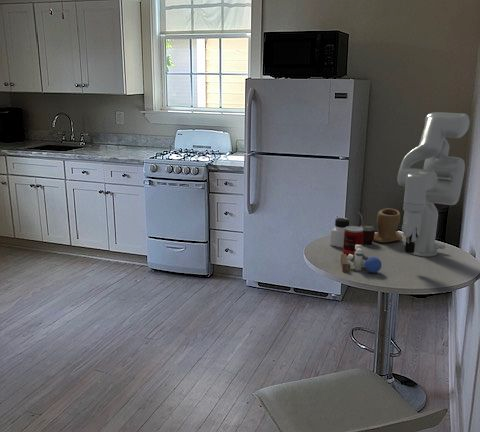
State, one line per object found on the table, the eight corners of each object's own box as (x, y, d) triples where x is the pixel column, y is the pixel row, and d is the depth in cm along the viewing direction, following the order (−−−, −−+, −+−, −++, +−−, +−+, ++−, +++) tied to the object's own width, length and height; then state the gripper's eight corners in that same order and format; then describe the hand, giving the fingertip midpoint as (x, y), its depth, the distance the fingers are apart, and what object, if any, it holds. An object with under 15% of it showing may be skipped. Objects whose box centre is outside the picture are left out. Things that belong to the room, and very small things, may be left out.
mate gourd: (375, 242, 230) (378, 210, 227) (370, 246, 224) (373, 213, 220) (359, 239, 234) (362, 207, 231) (353, 243, 228) (356, 211, 224)
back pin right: (358, 263, 202) (360, 244, 200) (360, 265, 199) (362, 246, 197) (352, 263, 201) (354, 244, 199) (354, 266, 199) (356, 246, 197)
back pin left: (359, 268, 197) (361, 248, 195) (362, 270, 194) (363, 250, 192) (353, 268, 196) (355, 248, 194) (355, 270, 194) (357, 250, 192)
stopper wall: (345, 261, 204) (346, 254, 203) (347, 271, 193) (348, 264, 192) (340, 260, 204) (341, 253, 204) (342, 271, 193) (343, 263, 192)
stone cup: (382, 246, 225) (385, 213, 222) (365, 238, 236) (368, 207, 232) (409, 243, 231) (413, 211, 227) (392, 236, 242) (395, 205, 238)
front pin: (367, 261, 198) (349, 253, 198) (369, 262, 196) (350, 254, 196) (365, 267, 198) (346, 258, 198) (366, 268, 196) (347, 259, 196)
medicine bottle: (345, 248, 221) (347, 221, 218) (329, 245, 224) (331, 219, 221) (350, 244, 227) (353, 218, 224) (335, 241, 230) (337, 215, 227)
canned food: (360, 251, 218) (362, 226, 215) (362, 257, 210) (364, 231, 207) (341, 250, 218) (343, 225, 216) (343, 256, 211) (345, 230, 208)
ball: (363, 262, 197) (377, 255, 195) (370, 276, 194) (385, 269, 193) (361, 260, 191) (375, 253, 190) (368, 274, 189) (383, 267, 188)
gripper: (400, 200, 197) (396, 244, 203) (407, 212, 183) (402, 259, 189) (420, 201, 196) (415, 245, 202) (428, 212, 182) (423, 260, 188)
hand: (409, 252), depth 195 cm, fingers closed
